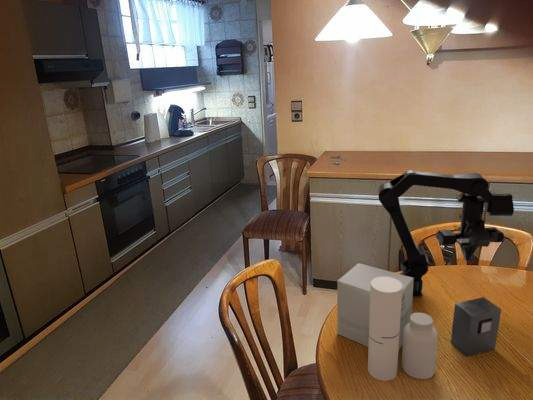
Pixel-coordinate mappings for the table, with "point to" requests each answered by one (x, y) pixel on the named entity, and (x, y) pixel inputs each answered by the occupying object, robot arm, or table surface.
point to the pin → (484, 325)
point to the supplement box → (366, 302)
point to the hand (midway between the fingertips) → (466, 260)
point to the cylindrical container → (384, 327)
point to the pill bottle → (419, 346)
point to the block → (474, 326)
